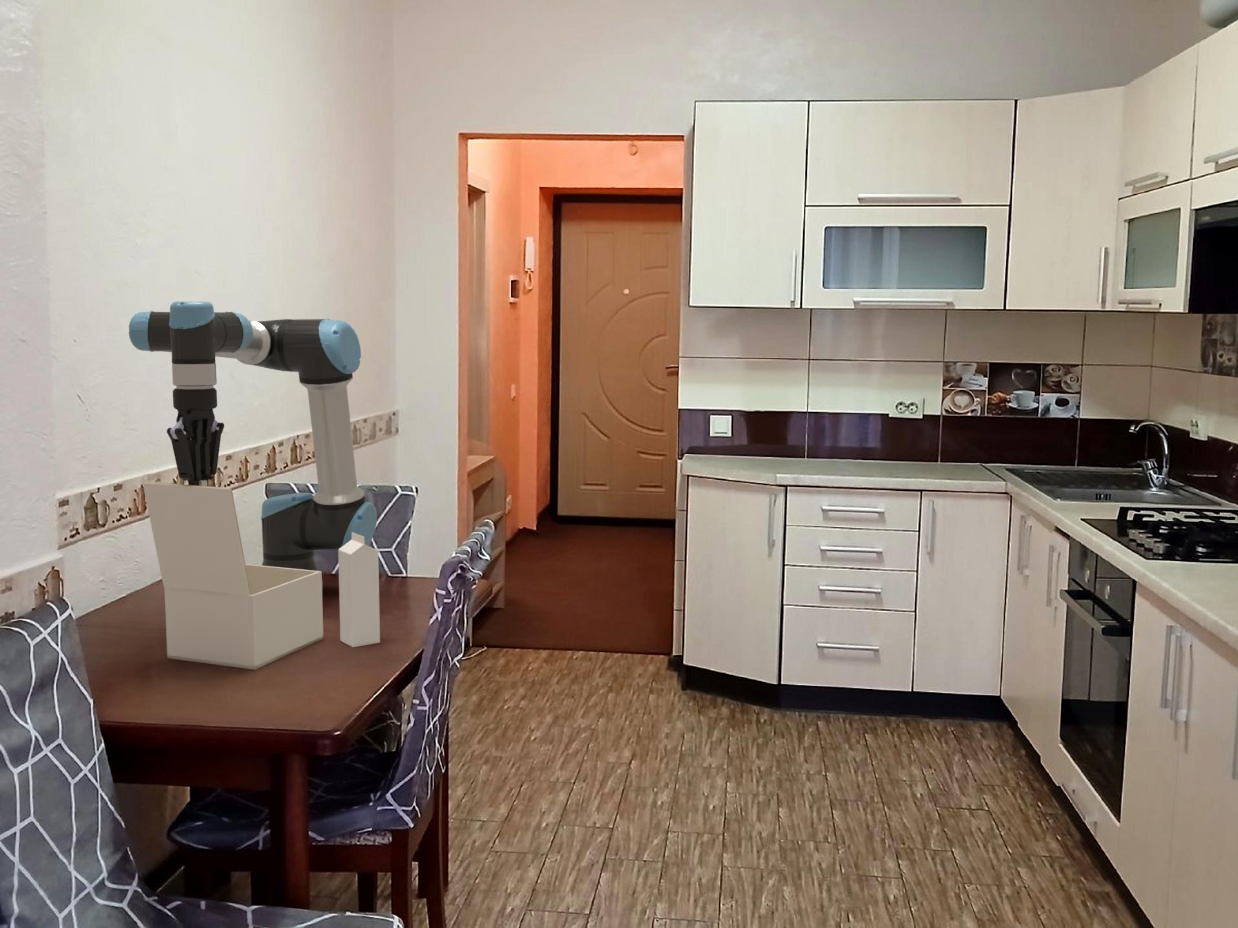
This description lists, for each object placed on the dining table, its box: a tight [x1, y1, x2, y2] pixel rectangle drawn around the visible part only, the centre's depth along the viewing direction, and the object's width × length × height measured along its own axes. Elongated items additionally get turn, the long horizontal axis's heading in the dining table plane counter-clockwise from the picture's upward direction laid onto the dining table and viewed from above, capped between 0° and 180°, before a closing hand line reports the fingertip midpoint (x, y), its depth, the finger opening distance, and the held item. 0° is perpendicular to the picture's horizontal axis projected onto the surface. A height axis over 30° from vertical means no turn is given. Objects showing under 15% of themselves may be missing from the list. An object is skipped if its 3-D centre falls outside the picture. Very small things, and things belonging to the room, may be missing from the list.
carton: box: [163, 563, 324, 671], centre depth 228 cm, size 22×20×14 cm
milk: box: [337, 532, 381, 648], centre depth 233 cm, size 6×6×22 cm
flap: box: [142, 481, 250, 596], centre depth 214 cm, size 21×19×1 cm
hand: (199, 515), depth 214 cm, fingers closed
